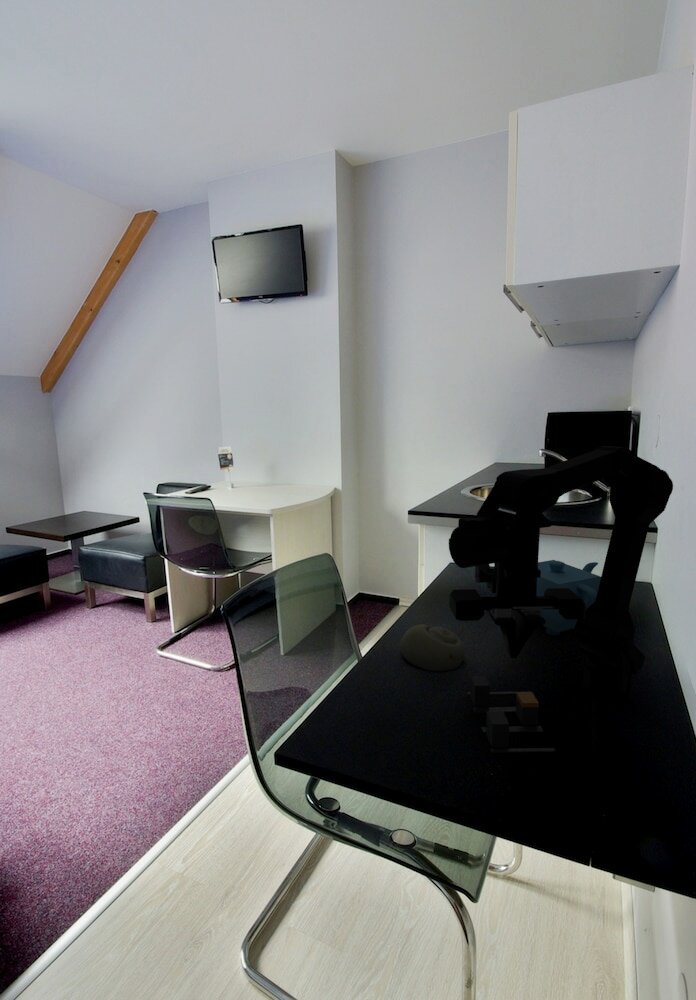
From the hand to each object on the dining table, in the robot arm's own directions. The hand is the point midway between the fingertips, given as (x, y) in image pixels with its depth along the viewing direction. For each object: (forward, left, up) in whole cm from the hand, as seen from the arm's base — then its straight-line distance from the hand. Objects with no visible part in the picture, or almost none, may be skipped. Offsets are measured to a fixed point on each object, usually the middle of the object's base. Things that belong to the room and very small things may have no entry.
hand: (512, 657), depth 76 cm
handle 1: (+3, -5, -11) cm, 12 cm away
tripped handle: (-3, 0, -11) cm, 11 cm away
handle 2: (+3, +5, -11) cm, 12 cm away
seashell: (+9, -20, -12) cm, 25 cm away
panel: (0, 0, -12) cm, 12 cm away
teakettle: (-22, -39, -12) cm, 46 cm away
